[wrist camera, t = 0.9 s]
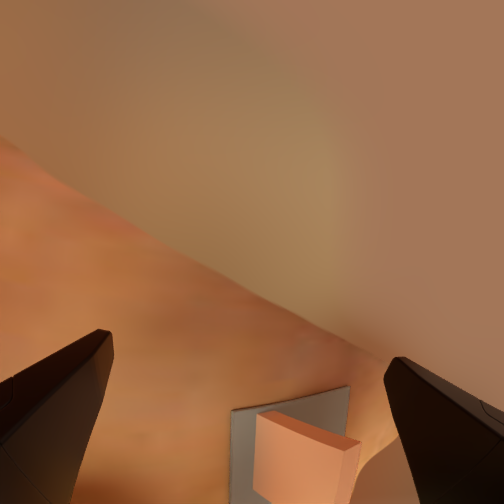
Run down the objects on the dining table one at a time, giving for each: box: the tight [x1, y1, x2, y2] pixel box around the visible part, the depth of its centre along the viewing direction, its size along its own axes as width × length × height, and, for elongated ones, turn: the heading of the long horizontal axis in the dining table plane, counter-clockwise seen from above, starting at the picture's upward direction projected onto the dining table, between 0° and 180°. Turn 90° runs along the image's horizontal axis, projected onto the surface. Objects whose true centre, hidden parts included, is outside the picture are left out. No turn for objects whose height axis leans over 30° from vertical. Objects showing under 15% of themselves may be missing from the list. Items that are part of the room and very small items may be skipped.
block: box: [253, 410, 362, 504], centre depth 17 cm, size 8×2×9 cm, turn 177°
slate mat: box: [229, 386, 350, 504], centre depth 23 cm, size 12×14×1 cm
